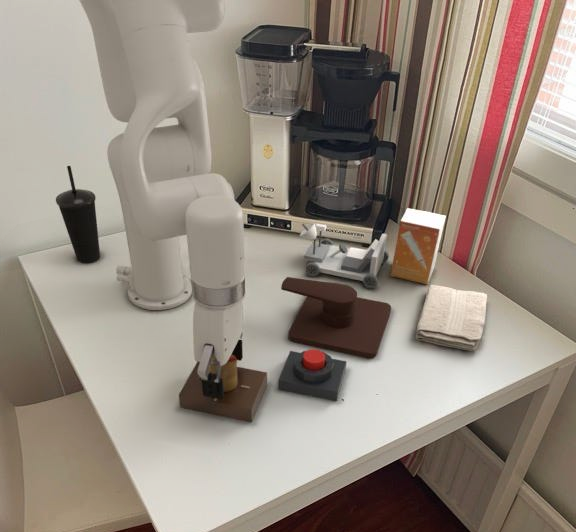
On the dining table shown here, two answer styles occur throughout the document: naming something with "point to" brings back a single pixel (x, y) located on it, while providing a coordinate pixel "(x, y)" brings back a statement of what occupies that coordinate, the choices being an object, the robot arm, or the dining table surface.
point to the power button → (313, 359)
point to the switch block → (312, 377)
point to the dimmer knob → (227, 373)
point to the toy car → (344, 257)
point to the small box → (417, 245)
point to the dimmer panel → (226, 395)
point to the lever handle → (337, 318)
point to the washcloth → (452, 318)
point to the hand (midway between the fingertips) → (223, 376)
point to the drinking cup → (80, 221)
